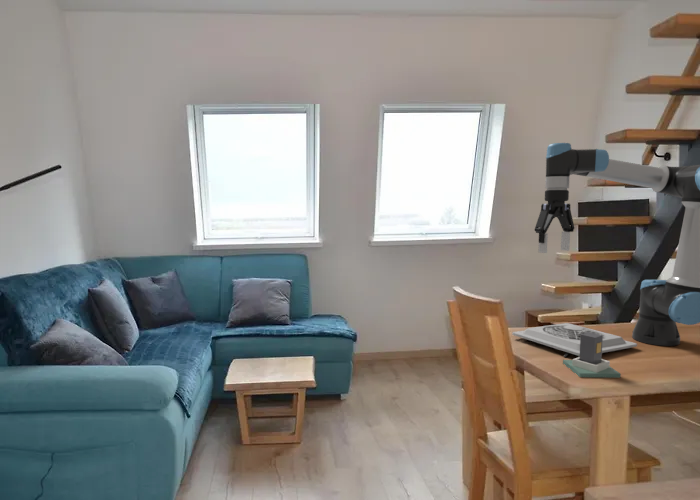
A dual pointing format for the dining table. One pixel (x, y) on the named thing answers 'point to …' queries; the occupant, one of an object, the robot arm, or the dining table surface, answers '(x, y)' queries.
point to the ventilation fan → (571, 338)
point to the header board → (592, 374)
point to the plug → (591, 348)
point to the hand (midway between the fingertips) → (554, 251)
